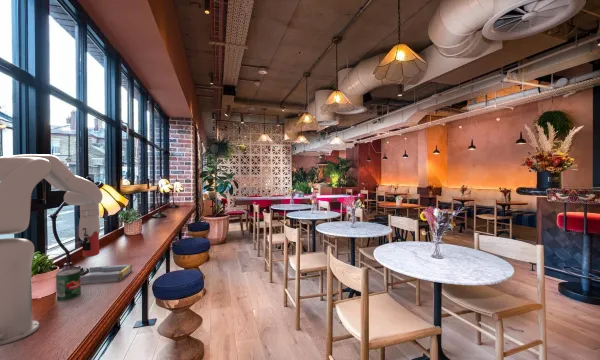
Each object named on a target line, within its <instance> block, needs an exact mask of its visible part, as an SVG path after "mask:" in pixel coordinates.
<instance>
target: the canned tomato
mask: <svg viewBox="0 0 600 360" xmlns="http://www.w3.org/2000/svg"><path fill="white" fill-rule="evenodd" d="M80 276H81V269H80V268H69V269H65V270H61V271H58V272H56V274H55V281H56V283H55V284H56V286H55V287H56V301H58V302H67V301H72V300H74V299H76V298H79V297H80V296H82V293H81V292H82V286H81V285H82V284H81V283H80Z"/></svg>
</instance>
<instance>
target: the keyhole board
mask: <svg viewBox="0 0 600 360" xmlns="http://www.w3.org/2000/svg"><path fill="white" fill-rule="evenodd" d="M88 269H89V272H87V273H86V274H84V275H80V283H81V285H83V284H96V283H97V284H98V283H108V282H121V280H123V279H124V278H126V276H128V275H129V274H130V273H131V272H133V264H131V263H130V264H118V265H115V264H114V265H102V266H101V265H100V266H90V267H89V268H88Z"/></svg>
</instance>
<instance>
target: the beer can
mask: <svg viewBox="0 0 600 360" xmlns="http://www.w3.org/2000/svg"><path fill="white" fill-rule="evenodd" d="M99 235H100V234H99ZM99 235H98V232H97V231H96V232H93V235H92V236H91V237H90V241H89V242H90V247H91V250H89V251H83V250H82V257H84V258H89V257H95V256H98V255H99V254H100V238H99V237H100V236H99ZM85 236H88V235H85ZM86 239H87V238H86Z"/></svg>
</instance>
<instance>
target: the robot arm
mask: <svg viewBox="0 0 600 360" xmlns="http://www.w3.org/2000/svg"><path fill="white" fill-rule="evenodd" d="M43 179H44V180H45V181H47V182H48V183H49V184H50V185H51V186H52V187H53V188H55V189H57V190H60V191H64V192H65V193H64V195H63V201H64V202H65V204H67V205H69V206H79V216H80V217H79V222H78V223H79V224H78V237H79V239H80V241H81V243H82V252H83V251H89V250H91V247H90V242H89V241H90V237H91V236H92V235H93V232H96V231H97V232H98V235H100V231H101V229H100V228H101V225H100V217H99V216H100V203H101V202H102V201H103V193H102V190H101V189H100V187H98V185H96V183H95V182H93V181H91V180H89V179H86V178H84V177H82V176H79V175H76V174H74V173H73V172H72V170H71V169H70V168H69V167H68V166H67V165H66V164H65V163H64V162H63V161H62V160H61V159H60V158H59V157H58V156H57V155H54V154H44V153H43V154H37V153H35V154H34V153H33V154H32V153H30V154H29V153H27V154H26V153H25V154H14V155H4V156H0V235H14V234H20V233H22V232H23V233H24V231H26V230H27V229H28V228H29V225H30V219H31V206H32V204H31V203H32V193H33V190H34V188H35V187H36V186H37V185H38V184H39V183H40V182H41V181H42V180H43ZM85 235H88V236H85ZM86 238H87V239H86ZM34 255H35V245H34V243H33V242H32V241H31V240H29V239H27V238H20V237H14V238H13V237H11V238H0V346H1V345H6V344H10V343H13V342H15V341H18V340H21V339H23V338H25V337H27V336H29V335H32V334H33V333H35V332H36V331H37V330H38V329H39V328H40V322H39V321H37V320H33V319H34V318H33V297H32V296H33V293H32V292H33V291H32V265H33V259H34Z"/></svg>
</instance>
